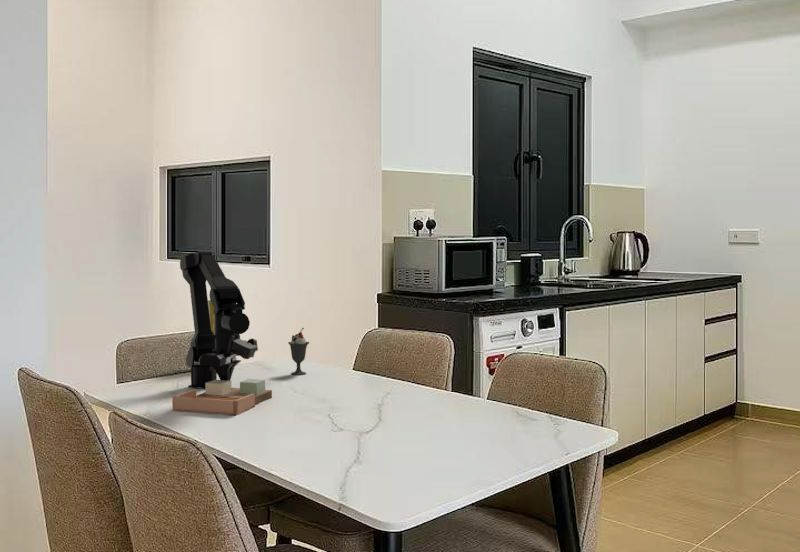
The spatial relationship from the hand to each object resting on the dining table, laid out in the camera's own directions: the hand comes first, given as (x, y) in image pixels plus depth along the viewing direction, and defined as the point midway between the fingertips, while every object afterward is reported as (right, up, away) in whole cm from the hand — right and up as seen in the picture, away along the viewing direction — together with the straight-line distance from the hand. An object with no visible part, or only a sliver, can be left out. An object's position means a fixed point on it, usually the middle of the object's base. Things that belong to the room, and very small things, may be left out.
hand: (226, 386), depth 216 cm
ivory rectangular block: (-1, -1, -4) cm, 4 cm away
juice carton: (-12, 0, +49) cm, 51 cm away
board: (+3, -3, -3) cm, 5 cm away
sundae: (+15, -1, +37) cm, 40 cm away
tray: (0, -4, -14) cm, 14 cm away
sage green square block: (+8, -1, -2) cm, 8 cm away
